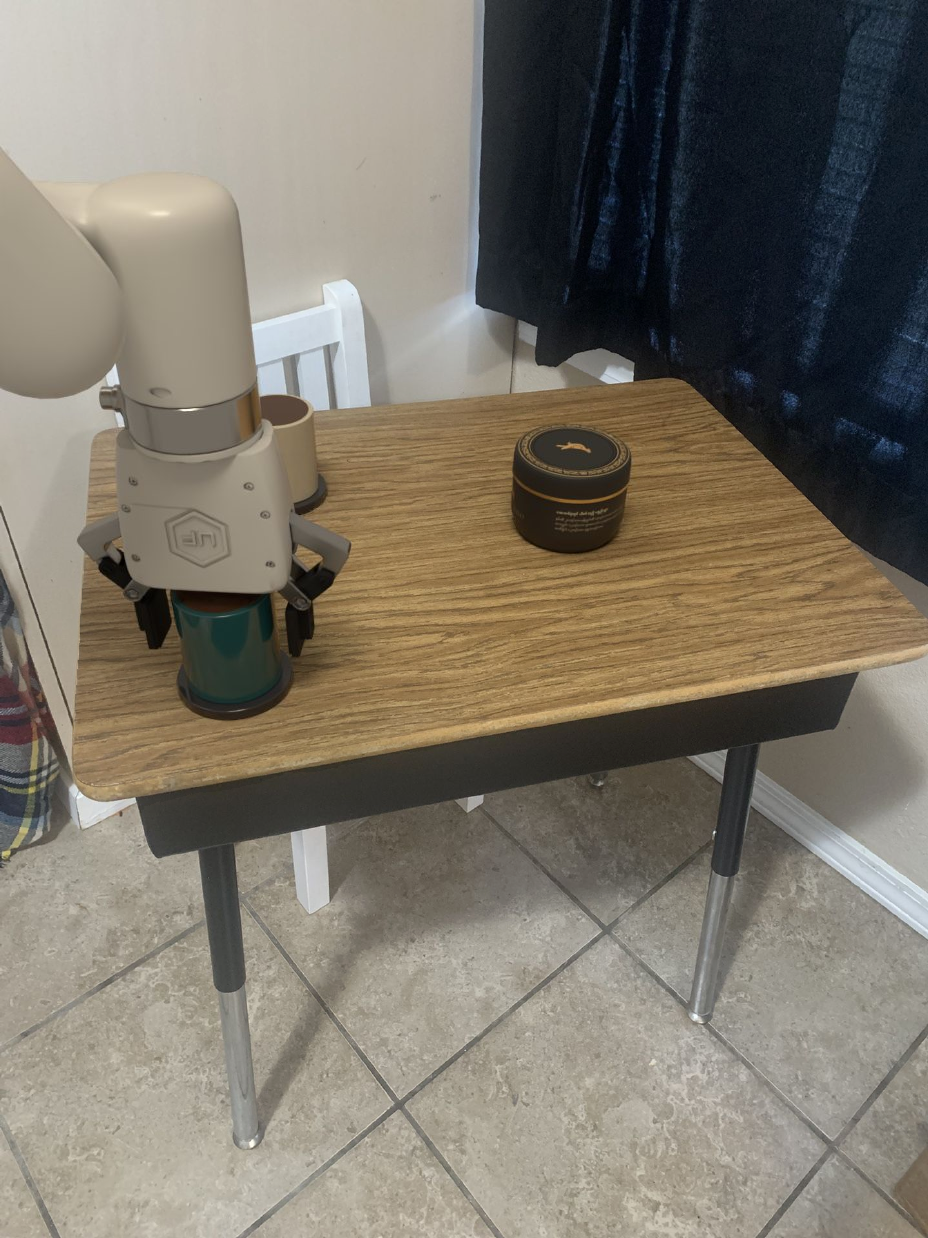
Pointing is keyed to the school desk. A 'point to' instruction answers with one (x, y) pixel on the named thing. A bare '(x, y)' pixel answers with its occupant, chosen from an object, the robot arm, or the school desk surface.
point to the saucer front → (237, 709)
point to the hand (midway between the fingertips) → (229, 640)
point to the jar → (569, 486)
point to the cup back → (294, 440)
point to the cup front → (228, 643)
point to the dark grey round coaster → (312, 498)
